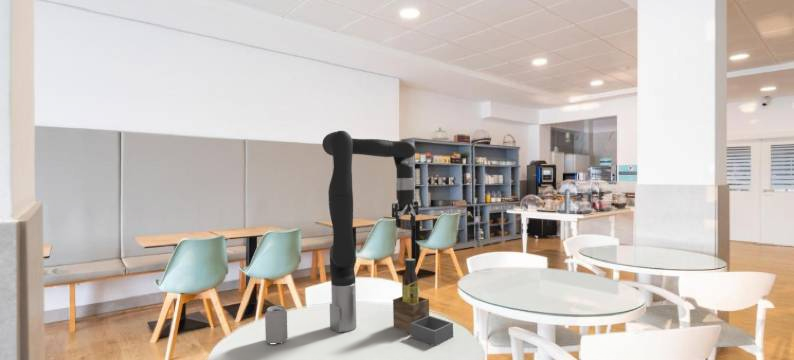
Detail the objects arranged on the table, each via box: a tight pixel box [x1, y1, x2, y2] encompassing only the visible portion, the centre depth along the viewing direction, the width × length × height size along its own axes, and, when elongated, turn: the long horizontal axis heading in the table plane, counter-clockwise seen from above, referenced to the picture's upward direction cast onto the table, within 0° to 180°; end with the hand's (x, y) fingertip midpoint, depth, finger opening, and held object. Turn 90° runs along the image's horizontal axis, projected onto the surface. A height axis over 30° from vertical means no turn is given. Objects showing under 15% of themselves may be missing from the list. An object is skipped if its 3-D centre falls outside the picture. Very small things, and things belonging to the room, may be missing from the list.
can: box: [264, 305, 288, 344], centre depth 141 cm, size 8×8×12 cm
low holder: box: [410, 315, 454, 347], centre depth 141 cm, size 10×11×5 cm
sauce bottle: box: [401, 258, 420, 305], centre depth 151 cm, size 6×6×20 cm
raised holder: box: [392, 296, 430, 334], centre depth 151 cm, size 9×10×10 cm
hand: (405, 226), depth 169 cm, fingers open, 8 cm apart
